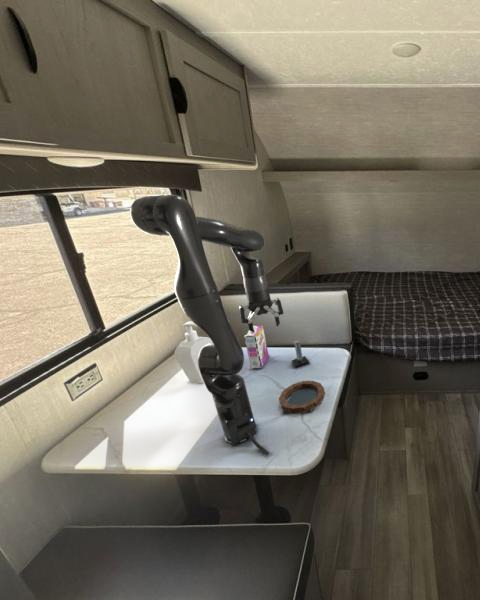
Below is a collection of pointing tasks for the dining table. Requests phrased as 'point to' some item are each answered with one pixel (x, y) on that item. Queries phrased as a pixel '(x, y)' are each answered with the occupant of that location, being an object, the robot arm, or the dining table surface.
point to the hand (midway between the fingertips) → (265, 328)
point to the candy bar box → (256, 347)
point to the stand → (299, 356)
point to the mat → (302, 397)
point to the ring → (305, 406)
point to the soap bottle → (191, 353)
